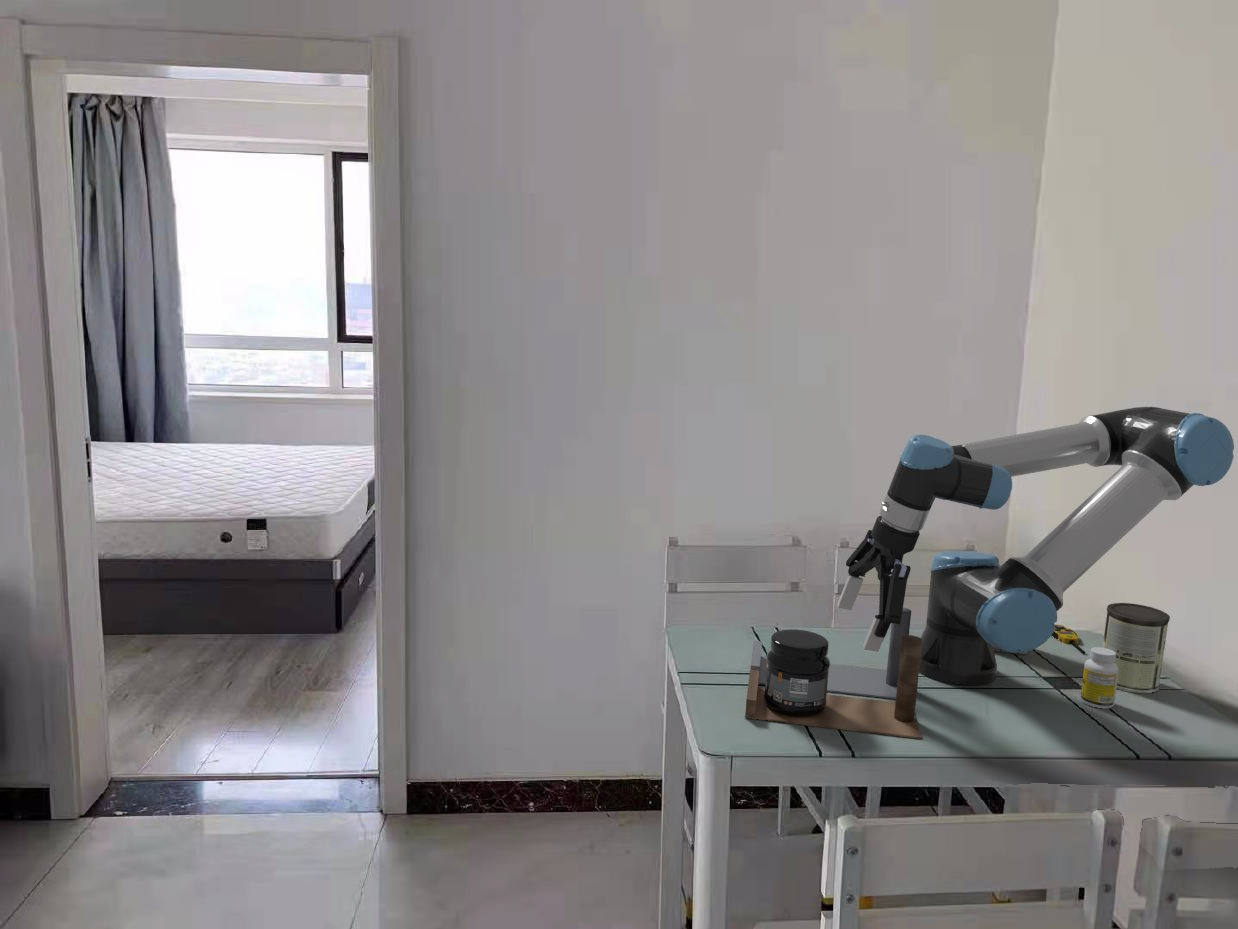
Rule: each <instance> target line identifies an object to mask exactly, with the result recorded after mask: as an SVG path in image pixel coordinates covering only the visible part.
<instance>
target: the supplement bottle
mask: <svg viewBox="0 0 1238 929" xmlns="http://www.w3.org/2000/svg"><path fill="white" fill-rule="evenodd" d="M1089 657H1090V658H1089V659H1087V660H1086V661H1085V662H1084V667H1083V674H1082V682H1081V683H1082V684H1081V691H1080V701H1082V703H1083V704H1085V705H1087V706H1089V705H1090V706H1089V707H1091V706H1092V707H1093V708H1095V707H1097V708H1096V709H1100V708H1102V709H1103V710H1107V709H1108V710H1109V709H1112V708H1113V707H1114V705H1115V703H1116V702H1115V700H1116V694H1117V689H1116V687H1117V679H1118V666H1117V665H1116V664H1115V663H1113V662H1115V658H1116V653H1115V652H1114V651H1113V650H1110V649H1107V648H1103V646H1102V647H1101V646H1094V647H1091V649H1090V652H1089ZM1092 707H1091V708H1092ZM1102 709H1101V710H1102Z"/></svg>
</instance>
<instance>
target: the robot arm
mask: <svg viewBox="0 0 1238 929" xmlns="http://www.w3.org/2000/svg"><path fill="white" fill-rule="evenodd" d="M1234 449H1235V443H1234V438H1233V436H1232V434H1231V431H1230V430H1229V428H1228V427H1227V426H1226V425H1225V424H1224V423H1223V422H1222V421H1220V420H1219V419H1216V418H1215V417H1211V416H1208V415H1207V416H1206V415H1204V414H1202V413H1199V412H1198V413H1197V412H1193V413H1189V412H1182V411H1179V410H1172V409H1166V408H1161V407H1156V406H1140V407H1130V408H1125V409H1120V410H1119V409H1118V410H1113V411H1109V412H1103V413H1099V414H1095V415H1094V414H1093V415H1088V416H1084V417H1082V418H1081V419H1080V421H1079V422H1078V423H1075V424H1069V425H1064V426H1057V427H1052V428H1047V429H1040V430H1036V431H1035V430H1034V431H1030V432H1024V433H1019V434H1013V435H1008V436H1007V435H1006V436H1003V437H996V438H995V437H994V438H991V439H985V440H978V441H974V442H968V443H962V444H958V445H957V444H955V445H951V444H950V443H947V442H946V441H943V440H942V439H939V438H935V437H933V436H930V435H926V434H915V435H913V436H911V437H910V438H909V439H908V441H907V443H906V445H905V447H904V449H903V452H902V453H901V455H900V457H899V460H898V465H897V467H896V469H895V472H894V475H893V476H892V480H891V482H890V483H889V484H890V485H889V488H888V490H887V492H886V496H885V498H884V499H883V501H882V502H881V508H880V511H879V516H877V517H876V520H875V521H874V525H873V527H872V530H871V529H868V530H867V532H866V534H865V537H864V539H862V540H861V542H860V544H858V546H857V547H856V548H855V549H854V551H853V552H852V553H851V555H850V556H849V557H848V559H846V561H845V566H846V567H848V569H847V574H848V576H847V578H846V581H845V583H844V586H843V588H842V592H841V593H840V596H839V599H838V601H837V604H836V607H837V608H838V609H844V610H848V611H852V610H853V607H854V605H855V603H856V600H857V597H858V596H859V595H858V594H859V592H860V589H861V588H862V585H863V582H864V579H863V577H864V578H865V577H866V574H867V573H869V572H870V571H871V570H873V569H875V570H876V573H877V580H879V598H878V599H879V605H878V614H875V615H874V618H873V620H872V623H871V626H870V627H869V630H868V633H867V634H866V637H865V639H864V642H863V645H862V649H863V650H865V651H871V652H877V653H879V652H880V649H881V647H882V643H883V641H884V639H885V637H886V636H887V633H888V630H889V629H890V627H891V623H895V624H900V623H901V618H902V611H903V608H904V603H905V597H906V590H907V583H908V578H909V576H910V574H911V570H912V569H911V566H910V565H906V564H904V563H903V558H904V556H905V555H906V554H908V553H911V552H913V551H914V549H915V547H916V544H917V542H918V539H919V538H920V535H921V533H920V531H921V530H923V528H924V525H925V524H926V522H927V518H928V516H929V513H930V511H931V508H932V506H933V504H934V501H935V499H939V500H943V501H948V502H949V501H950V502H954V503H958V504H963V505H966V506H972V507H975V508H978V509H980V510H982V509H987V510H999V509H1001V508H1002V507H1003V506H1005V505H1006V504H1007V502H1008V501H1009V499H1010V497H1011V492H1012V489H1013V477H1017V476H1022V475H1030V474H1034V473H1035V474H1036V473H1041V472H1047V471H1051V470H1056V469H1057V470H1058V469H1062V468H1063V469H1064V468H1068V467H1073V466H1074V467H1075V466H1078V465H1084V464H1085V465H1086V464H1088V466H1090V467H1095V468H1098V467H1099V468H1100V467H1104V466H1121V467H1120V468H1119V469H1118V470H1117V471H1115V472H1114V473H1113V474H1112V475H1111V476H1110V477H1109V478H1107V480H1106V481H1104V482H1103V483H1102V484H1101V485H1100V486H1099V487H1098V488H1097V489H1096V490H1095V491H1094V492H1093V493H1091V495H1089V496H1088V497H1087V498H1086V499H1085V500H1084V501H1082V503H1081V504H1080V505H1078V506H1077V508H1076V509H1074V510H1073V511H1072V512H1070V514H1069V515H1068V516H1067V517H1066V518H1065V519H1063V520H1062V521H1061V522H1060V523H1059V524H1058V525H1057V526H1056V527H1055V528H1053V529H1052V531H1050V533H1048V534H1047V535H1046V536H1045V537H1044V538H1043V539H1042V540H1040V542H1039V543H1037V545H1035V546H1034V547H1033V548H1032V549H1031V550H1030V551H1028V553H1027V554H1026V555H1025V556H1022V557H1019V556H1018V557H1017V556H1016V557H1015V556H1013V557H1012V556H1011V557H1009V558H1008V559H1007V560H1006V561H1005V562H1003V563H1002V564H1001V565H1000V560H999V558H998V557H997V555H995V554H994V555H993V554H991V553H985V552H980V551H979V552H977V551H965V550H963V551H962V550H959V551H958V550H949V551H947V550H946V551H941V552H938V553H936V554H935V555H934V557H933V559H932V565H931V568H930V573H931V574H930V582H929V593H928V601H927V602H928V603H927V611H926V612H927V613H926V622H925V627H924V629H923V632H922V634H921V636H920V638H921V639H922V647H921V657H920V667H919V673H921V674H923V675H924V676H927V677H929V678H932V679H934V680H938V681H942V682H945V683H950V684H955V685H965V686H978V685H986V684H989V683H992V682H993V681H994V680H996V678H997V670H998V664H997V659H996V655H995V651H994V650H993V646H996V647H999V648H1001V649H1003V650H1005V651H1008V652H1018V653H1021V652H1027V651H1028V652H1029V651H1030V652H1031V651H1033V650H1036V649H1038V648H1039V647H1041V646H1042V645H1044V644H1045V643H1046V642H1047V641H1048V640H1049V639H1050V638H1051V637H1052V636H1051V635H1052V634H1053V632H1054V630H1055V626H1054V624H1056V623H1057V622H1058V611H1059V610H1061V608H1063V606H1064V597H1063V596H1064V592H1065V591H1066V590H1067V589H1069V588H1070V587H1071V586H1072V585H1074V583H1076V582H1077V580H1079V579H1080V578H1081V577H1082V576H1083V575H1084V574H1085V573H1086V572H1087V571H1089V569H1090V568H1092V567H1093V566H1095V564H1096V563H1097V562H1098V561H1099V560H1100V559H1102V557H1104V556H1105V555H1106V554H1107V553H1108V552H1109V551H1110V550H1111V549H1112V548H1113V547H1114V546H1115V545H1116V544H1118V543H1119V542H1120V541H1121V540H1122V539H1123V538H1124V537H1125V536H1126V535H1127V534H1128V533H1129V532H1130V531H1132V530H1133V528H1135V527H1136V526H1137V525H1138V524H1139V523H1140V522H1141V521H1142V520H1143V519H1145V517H1147V516H1148V515H1149V514H1150V513H1151V512H1152V511H1153V510H1154V509H1155V508H1157V507H1158V506H1159V504H1161V502H1163V501H1177V500H1178V499H1180V498H1181V497H1182V496H1183V495H1185V493H1187V492H1188V491H1189V490H1190V489H1191V488H1192V487H1193V486H1197V487H1205V486H1212V485H1214V484H1216V483H1218V482H1220V481H1221V480H1222V479H1223V478H1224V477H1225V476H1226V474H1228V472H1229V470H1230V469H1231V466H1232V464H1233V461H1234ZM1008 652H1007V653H1008ZM1028 652H1027V653H1028Z"/></svg>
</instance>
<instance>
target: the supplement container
mask: <svg viewBox="0 0 1238 929" xmlns="http://www.w3.org/2000/svg"><path fill="white" fill-rule="evenodd" d="M829 645H830V644H829V641H828V639H827V637H824V636H823V635H821V634H818V633H817V632H813V631H809V630H803V629H793V628H792V629H782V630H778V631H775V632H774V633H772V634H771V636H770V647H769V648H770V649H769V651H768V652H767V654H766V657H767V670H766V683H765V686H764V687H765V692H764V699H765V702H766V704H767V705H768V706H769V707H770V708H771V709H773V710H775V711H776V712H779V713H781V714H784V715H788V716H794V717H809V716H814V715H817V714H819V713H821V712H822V711H823V710H824V709H825V707H826V702H827V700H826V697H827V694H828V692H827V685H828V673H829V667H830V664H831V661H830V658H829V656H828V654H829Z"/></svg>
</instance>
